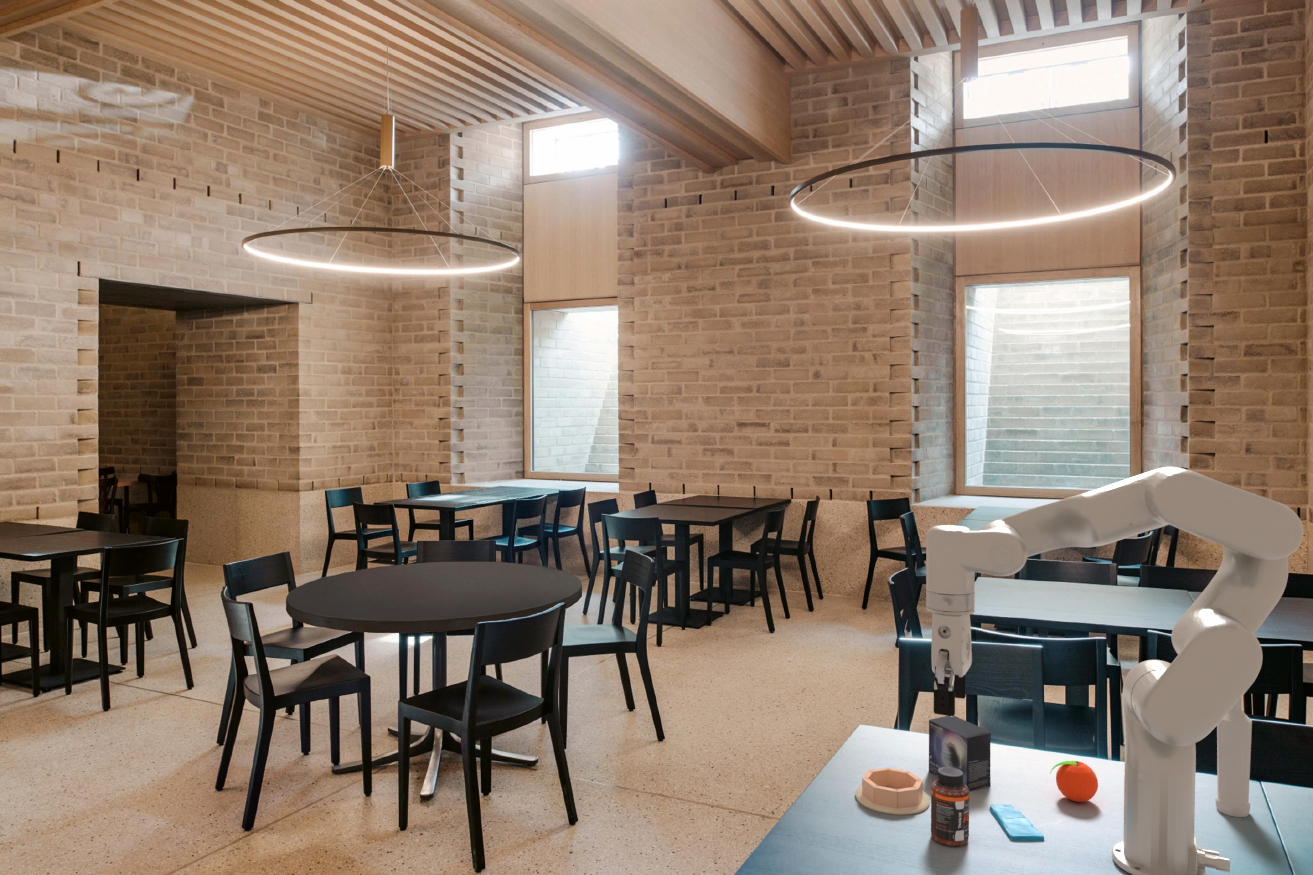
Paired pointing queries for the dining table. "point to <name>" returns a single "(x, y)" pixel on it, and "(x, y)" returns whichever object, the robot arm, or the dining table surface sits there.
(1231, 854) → the dining table surface
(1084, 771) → the clementine
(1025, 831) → the sponge
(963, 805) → the supplement bottle
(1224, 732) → the bottle
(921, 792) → the cup holder
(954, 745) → the small box
